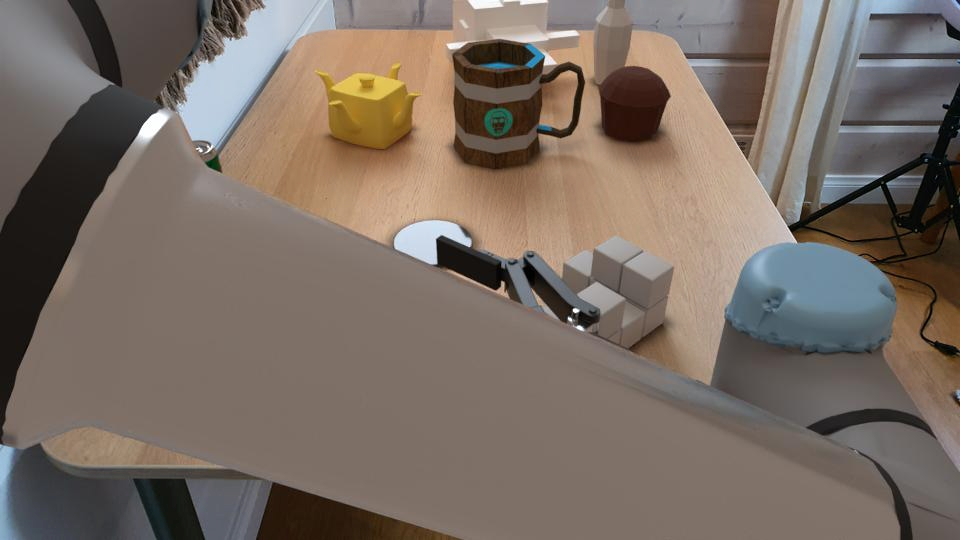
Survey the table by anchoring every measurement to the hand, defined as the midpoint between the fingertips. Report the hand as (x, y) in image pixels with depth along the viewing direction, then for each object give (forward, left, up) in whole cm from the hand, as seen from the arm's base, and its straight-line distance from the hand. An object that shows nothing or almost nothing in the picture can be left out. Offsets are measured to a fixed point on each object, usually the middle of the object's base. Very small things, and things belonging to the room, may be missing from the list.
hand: (386, 287), depth 61 cm
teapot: (+12, +61, -16) cm, 64 cm away
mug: (+32, +48, -16) cm, 60 cm away
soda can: (-14, +40, -16) cm, 46 cm away
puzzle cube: (+24, +7, -16) cm, 30 cm away
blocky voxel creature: (+42, +77, -17) cm, 89 cm away
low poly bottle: (+58, +67, -16) cm, 90 cm away
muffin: (+52, +48, -16) cm, 73 cm away
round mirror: (+12, +27, -16) cm, 34 cm away
